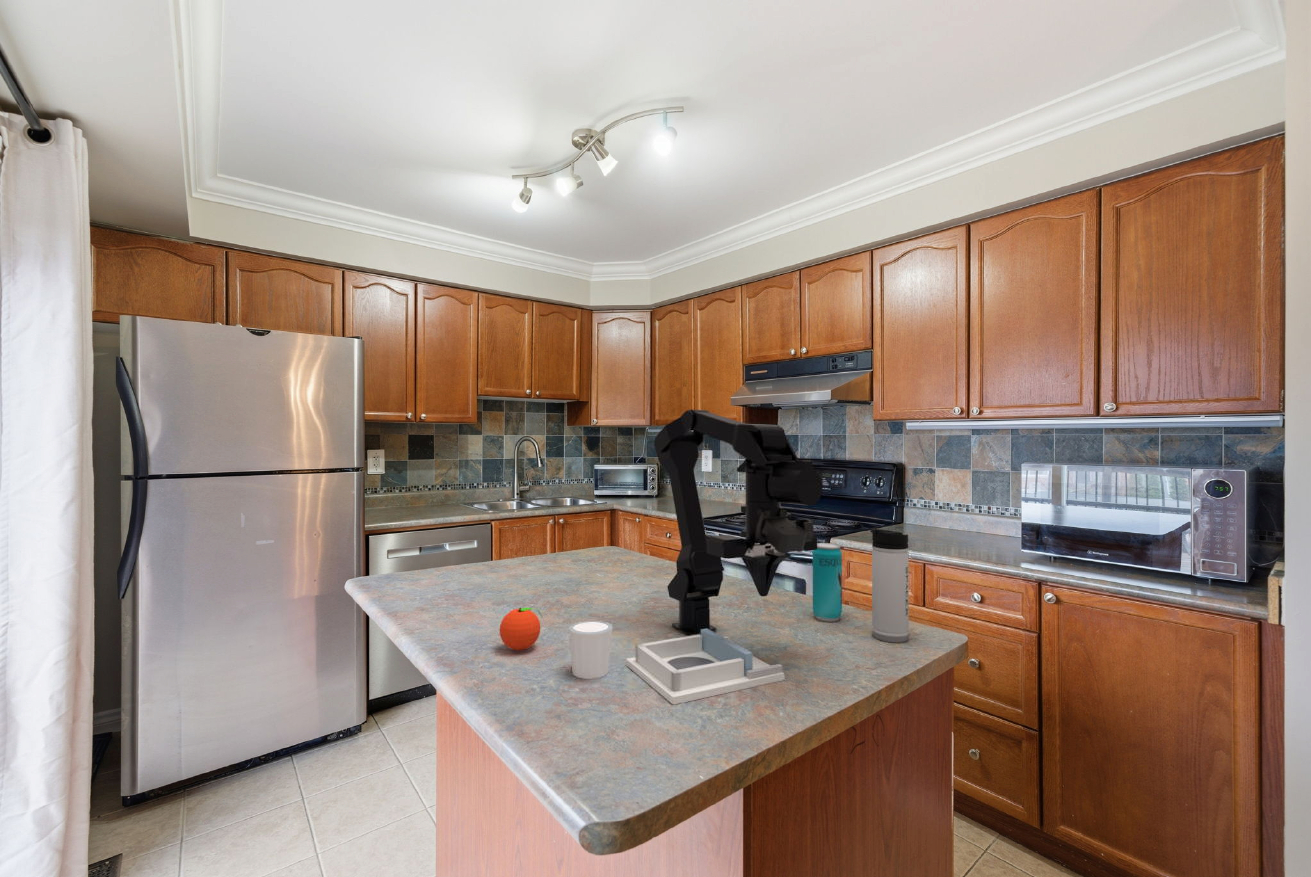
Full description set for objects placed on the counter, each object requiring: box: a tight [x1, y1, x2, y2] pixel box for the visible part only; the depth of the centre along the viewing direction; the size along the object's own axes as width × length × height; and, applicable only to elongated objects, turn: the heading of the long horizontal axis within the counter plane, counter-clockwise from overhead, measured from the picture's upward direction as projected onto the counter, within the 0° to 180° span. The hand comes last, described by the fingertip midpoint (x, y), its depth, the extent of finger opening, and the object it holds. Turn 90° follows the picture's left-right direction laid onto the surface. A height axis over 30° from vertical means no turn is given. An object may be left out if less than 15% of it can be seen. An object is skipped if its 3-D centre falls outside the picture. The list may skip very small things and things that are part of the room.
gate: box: [700, 629, 754, 676], centre depth 92 cm, size 13×1×3 cm, turn 27°
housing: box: [625, 634, 785, 705], centre depth 90 cm, size 16×19×4 cm
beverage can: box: [812, 542, 843, 623], centre depth 119 cm, size 6×6×15 cm
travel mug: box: [870, 527, 910, 644], centre depth 107 cm, size 6×7×20 cm
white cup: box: [568, 620, 614, 680], centre depth 91 cm, size 7×7×7 cm
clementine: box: [499, 607, 543, 651], centre depth 101 cm, size 8×7×7 cm
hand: (763, 595), depth 96 cm, fingers closed
